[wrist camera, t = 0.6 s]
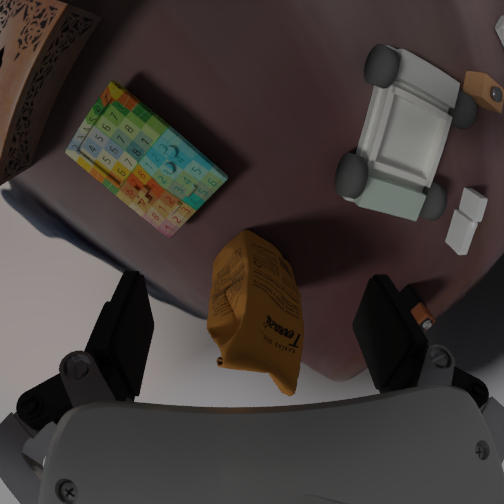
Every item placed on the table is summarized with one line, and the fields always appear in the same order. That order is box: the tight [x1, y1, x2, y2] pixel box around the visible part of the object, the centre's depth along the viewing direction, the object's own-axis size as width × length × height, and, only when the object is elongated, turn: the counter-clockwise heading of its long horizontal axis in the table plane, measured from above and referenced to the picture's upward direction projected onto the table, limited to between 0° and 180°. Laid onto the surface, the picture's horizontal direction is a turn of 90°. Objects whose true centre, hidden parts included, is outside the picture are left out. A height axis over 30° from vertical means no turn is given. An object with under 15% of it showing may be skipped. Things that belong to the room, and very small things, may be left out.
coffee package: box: [207, 230, 304, 396], centre depth 37 cm, size 10×12×22 cm
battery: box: [400, 285, 435, 332], centre depth 49 cm, size 4×7×10 cm, turn 143°
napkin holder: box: [445, 187, 488, 255], centre depth 41 cm, size 15×11×6 cm
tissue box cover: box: [0, 0, 103, 186], centre depth 22 cm, size 26×14×10 cm, turn 142°
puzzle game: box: [65, 81, 228, 239], centre depth 34 cm, size 12×5×20 cm
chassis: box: [335, 44, 477, 221], centre depth 33 cm, size 24×17×6 cm
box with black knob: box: [463, 71, 504, 113], centre depth 28 cm, size 6×4×6 cm
